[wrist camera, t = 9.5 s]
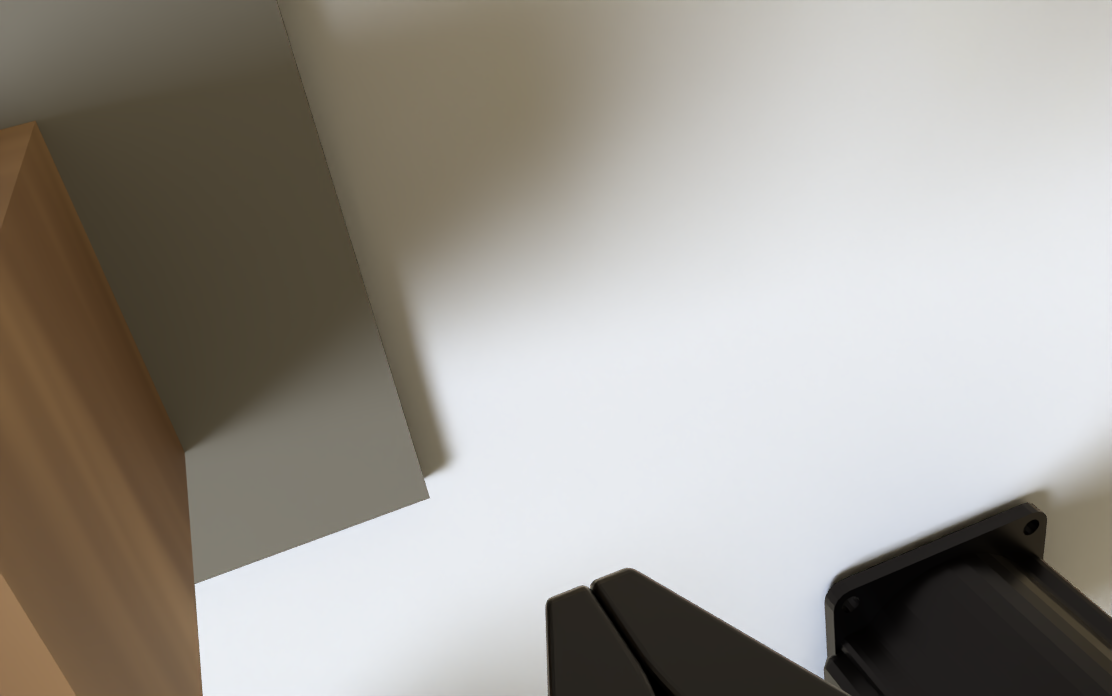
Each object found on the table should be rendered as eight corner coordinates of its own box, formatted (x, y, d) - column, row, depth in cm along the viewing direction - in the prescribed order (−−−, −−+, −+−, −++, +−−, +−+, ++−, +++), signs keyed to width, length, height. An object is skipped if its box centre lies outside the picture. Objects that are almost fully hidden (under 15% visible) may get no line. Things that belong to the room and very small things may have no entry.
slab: (34, 120, 15) (-72, 456, 7) (184, 452, 18) (220, 928, 10) (-145, 167, 14) (-467, 581, 7) (41, 500, 17) (-33, 1038, 10)
